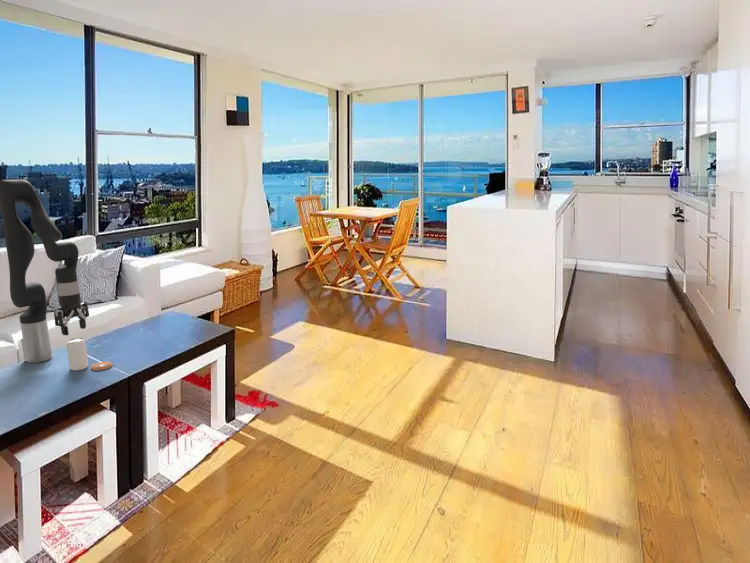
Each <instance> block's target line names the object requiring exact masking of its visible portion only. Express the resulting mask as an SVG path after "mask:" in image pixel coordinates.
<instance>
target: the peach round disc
mask: <svg viewBox="0 0 750 563" xmlns="http://www.w3.org/2000/svg"><path fill="white" fill-rule="evenodd" d="M113 366H114V364H113V362H112V361H109V360H108V361H107V360H105V361H99V362H95V363H93V364H91V365H90V370H91V371H94V372H100V371H105V370H108V369H110V368H112V367H113Z"/></svg>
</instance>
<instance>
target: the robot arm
mask: <svg viewBox="0 0 750 563" xmlns="http://www.w3.org/2000/svg"><path fill="white" fill-rule="evenodd" d="M16 204H26V205H27V206H28V207H29V209H30V212H31V215H30V216H31V217H30V224H31V227H32V229H33V231H34V232H35V234H36V235H37V237H38V238H39V239H40V240H41V243H42V246H43V248H44V251H45V253H46V257H47V258H48V259H49V260H51V261H53V262H54V263H56V262H57V263H58V262H59V263H60V262H63V264H62V265H61V266H58V267H56V268H55V271H54V272H55V280H56V291H57V299H58V304H59V306H60V310H55V311H54V312H53V317H54V324H55V326H56V327H60V330H61V335H63V336H66V337H67V336H69V328H68V323H69V322H70V321H71V319H74V318H78V323H79V328H80V329H83V330H84V329H86V328H87V322H86V320H87V318H88V317H89V316H90V312H89V306H88V303H87V302H82V297H81V291H80V284H79V281H78V276H77V275H78V274H77V267H78V260H79V255H80V254H79V253H80V252H79V248H78V246H77V245H76V243H74V242H73V241H63V242H59V240H61V238H62V233H61V231H60V230H59V229H58V228H57V226H56V225H55V223H54V221H52V219H51V218H50V217H49V215H48V214H47V212H46V210H45V208H44V205H43V204H42V201H41V200H40V197H39V196H38V194H37V192H36V190H35V189H34V187H33V185H32V184H31V182H29V181H28V180H25V179H1V180H0V213H1V217H2V224H3V229H4V239H5V248H6V254H7V260H8V268H9V269H8V270H9V293H10V299H11V302H12V304H13V305H14V306H15V307H16V308H20V309H21V308H25V307H26V308H27V307H28V308H27V309H26V310H25V311H24V312H23V313H21V314H20V315H19V322H20V329H21V335H22V338H21V346H22V352H23V359H24V361H26V363H29V364H36V363H42V362H46V361H49V360H50V359H52V358H53V353H52V348H51V347H52V346H51V341H50V333H49V327H48V320H47V313H48V308H47V307H48V306H47V296H46V290H45V288H44V286H43V285H42V284H41V283H40V282H38V281H31V282H28V283H26V275H27V274H26V273H27V271H28V268H29V267H30V264H31V262H32V261H33V258H34V255H35V241H34V236H33V234H32V232H31V231H30V230H29V228H28V227H27V226H26V225H25V224H24V222H22V220H21V219H20V217H19V216H18V213H17V209H16Z"/></svg>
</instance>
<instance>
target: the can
mask: <svg viewBox="0 0 750 563" xmlns="http://www.w3.org/2000/svg"><path fill="white" fill-rule="evenodd" d="M66 342H67V343H66V348H67V357H68V363H69V364H68V365H69V369H70V370H71V371H72V372H78V371H82V370H86V369H87V368H88V367H89V361H88V353H87V347H86V342H85V340H84V338H83V337H76V338H70V339H69V340H67V341H66Z"/></svg>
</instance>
